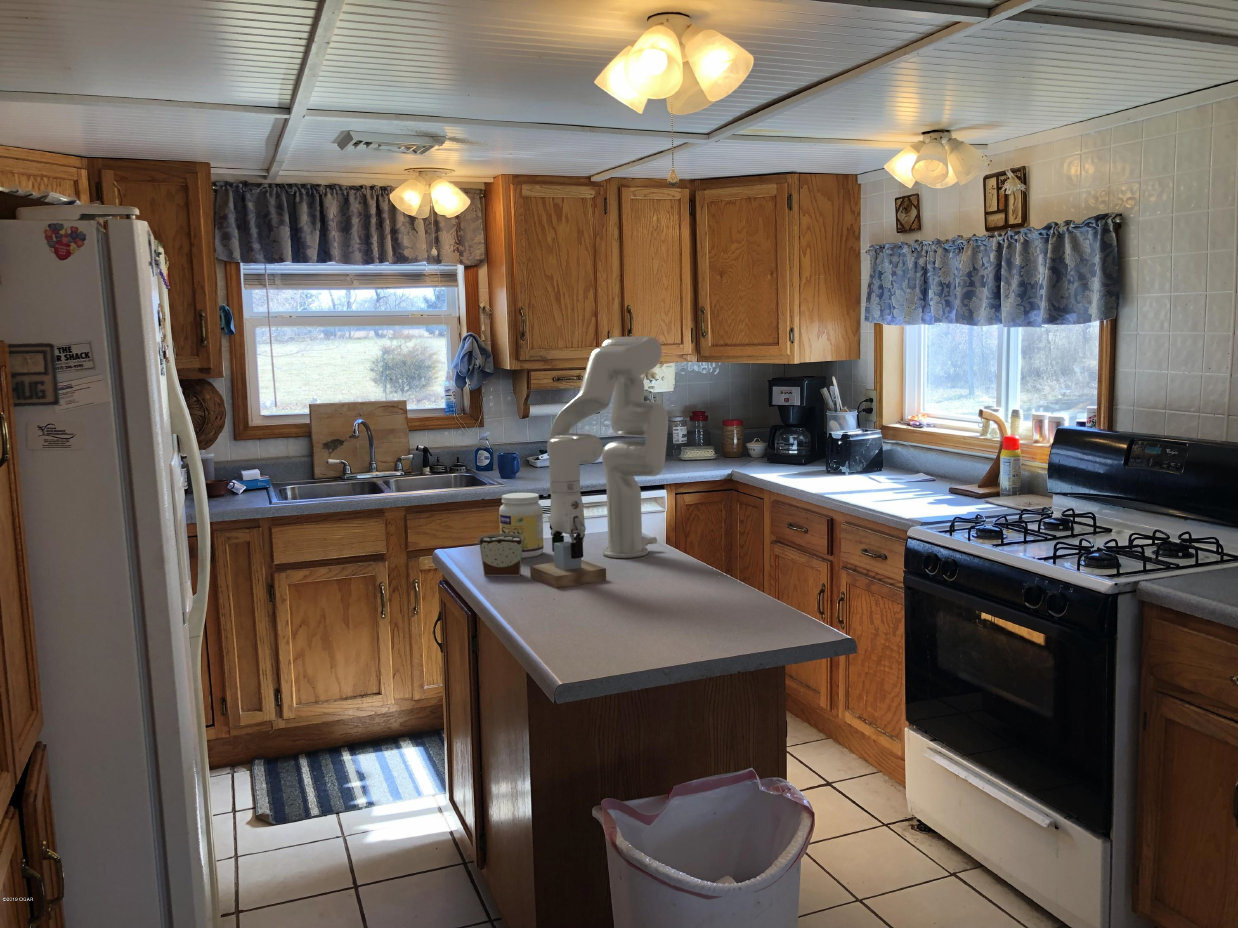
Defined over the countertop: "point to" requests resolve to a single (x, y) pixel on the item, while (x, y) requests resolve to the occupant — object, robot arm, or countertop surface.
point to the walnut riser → (567, 574)
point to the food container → (501, 554)
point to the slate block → (565, 556)
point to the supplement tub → (523, 521)
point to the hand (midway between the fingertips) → (567, 554)
